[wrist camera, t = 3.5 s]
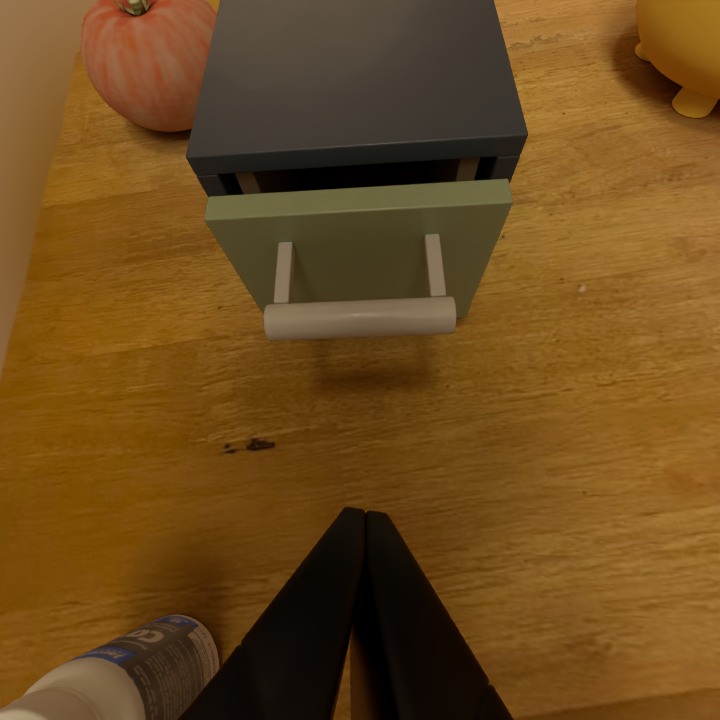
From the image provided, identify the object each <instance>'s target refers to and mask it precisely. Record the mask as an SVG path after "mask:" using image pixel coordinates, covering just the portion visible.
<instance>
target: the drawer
mask: <svg viewBox="0 0 720 720" xmlns="http://www.w3.org/2000/svg"><path fill="white" fill-rule="evenodd" d="M479 160H480V157H479V158H463V159H448V160H432V161H416V162H400V163H384V164H369V165H353V166H337V167H321V168H306V169H290V170H274V171H258V172H243V173H235V176H236V178H237V180H238V182H239V185H240V187H241V189H242V191H243V194H244V195H227V196H210V197H208V201H207V207H206V212H205V218H204V220H205V222H206V223H207V225H208V227H209V228H210V230H211V231H212V233H213V235H214V236H215V238H216V239H217V241H218V243H219V244H220V246H221V247H222V249H223V251H224V252H225V254H226V255H227V257H228V259H229V260H230V262H231V263H232V265H233V267H234V268H235V270H236V272H237V273H238V275H239V276H240V278H241V280H242V281H243V283H244V284H245V286H246V288H247V289H248V291H249V292H250V294H251V296H252V297H253V299H254V300H255V302H256V304H257V305H258V307H259V308H260V310H261V312H262V313H263V315H264V317H263V322H264V330H265V334H266V337H267V339H268V340H269V341H286V340H311V339H337V338H363V337H388V336H414V335H439V334H453V333H454V331H455V327H456V318H464V317H466V314H467V312H468V309H469V307H470V305H471V302H472V300H473V297H474V295H475V293H476V290H477V288H478V285H479V283H480V281H481V278H482V276H483V273H484V271H485V268H486V266H487V264H488V261H489V259H490V256H491V254H492V252H493V249H494V247H495V244H496V242H497V240H498V237H499V235H500V232H501V230H502V228H503V225H504V223H505V220H506V218H507V216H508V213H509V211H510V208H511V206H512V204H513V199H512V194H511V190H510V185H509V181H508V179H493V180H476V181H474V178H475V175H476V171H477V167H478V164H479Z"/></svg>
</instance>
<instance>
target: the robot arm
mask: <svg viewBox="0 0 720 720" xmlns="http://www.w3.org/2000/svg"><path fill="white" fill-rule="evenodd" d="M350 635H351V640H350ZM349 640H350V686H351V720H514V719H513V717H512V716H511V714H510V713H509V711H508V709H507V708H506V706H505V705H504V703H503V701H502V700H501V698H500V696H499V695H498V693H497V692H496V690H495V688H494V687H493V686H492V685H488V684H489V679H488V677H487V676H486V674H485V672H484V671H483V669H482V667H481V666H480V664H479V662H478V661H477V659H476V658H475V656H474V654H473V653H472V651H471V649H470V648H469V646H468V645H467V643H466V641H465V640H464V638H463V636H462V635H461V633H460V631H459V630H458V628H457V627H456V625H455V623H454V622H453V620H452V618H451V617H450V615H449V613H448V612H447V610H446V609H445V607H444V605H443V604H442V602H441V600H440V599H439V597H438V596H437V594H436V592H435V591H434V589H433V587H432V586H431V584H430V582H429V581H428V579H427V578H426V576H425V574H424V573H423V571H422V569H421V568H420V566H419V565H418V563H417V561H416V560H415V558H414V556H413V555H412V553H411V551H410V550H409V548H408V547H407V545H406V543H405V542H404V540H403V538H402V537H401V535H400V533H399V532H398V530H397V529H396V527H395V525H394V524H393V522H392V520H391V519H390V517H389V516H388V514H386V513H384V512H378V511H371V510H368V511H367V512H366V513H365V511H364V510H363V509H358V508H352V507H345V508H344V509H343V510H342V511H341V512H340V514H339V515H338V516H337V518H336V519H335V520H334V522H333V523H332V524H331V525H330V527H329V528H328V529H327V531H326V532H325V533H324V534H323V536H322V537H321V538H320V540H319V541H318V542H317V544H316V545H315V546H314V547H313V549H312V550H311V551H310V553H309V554H308V555H307V557H306V558H305V559H304V560H303V562H302V563H301V564H300V566H299V567H298V568H297V569H296V571H295V572H294V573H293V575H292V576H291V577H290V579H289V580H288V581H287V582H286V584H285V585H284V586H283V588H282V589H281V590H280V592H279V593H278V594H277V595H276V597H275V598H274V599H273V601H272V602H271V603H270V604H269V606H268V607H267V608H266V610H265V611H264V612H263V614H262V615H261V616H260V617H259V619H258V620H257V621H256V623H255V624H254V625H253V627H252V628H251V629H250V630H249V632H248V633H247V634H246V636H245V637H244V638H243V639H242V641H241V645H238V646H237V647H236V648H235V649H234V651H233V652H232V653H231V655H230V656H229V657H228V659H227V660H226V661H225V662H224V664H223V665H222V666H221V668H220V669H219V670H218V671H217V673H216V674H215V675H214V676H213V678H212V679H211V680H210V681H209V682H208V684H207V685H206V686H205V687H204V689H203V690H202V691H201V692H200V693H199V695H198V696H197V697H196V698H195V700H194V701H193V702H192V703H191V704H190V706H189V707H188V708H187V709H186V710H185V711H184V713H183V714H182V715H181V716H180V717H179V718H178V719H177V720H333V719H334V714H335V709H336V704H337V699H338V694H339V690H340V685H341V680H342V675H343V670H344V665H345V661H346V656H347V651H348V645H349Z"/></svg>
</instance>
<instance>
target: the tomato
mask: <svg viewBox="0 0 720 720" xmlns="http://www.w3.org/2000/svg"><path fill="white" fill-rule="evenodd" d="M216 18H217V12H216V11H215V9H214V8H213V7H212V6H211V5H210V4H209V3H208V2H207V1H206V0H98V1H96V2H95V3H94V5H93V6H92V7H91V9H90V10H89V11H88V13H87V14H86V15H85V17H84V20H83V24H82V32H81V53H82V59H83V63H84V66H85V69H86V71H87V74H88V76H89V78H90V80H91V82H92V84H93V86H94V87H95V89H96V90H97V92H98V93H99V95H100V96H101V98H102V99H103V100H104V101H105V102H106V103H107V104H108V105H109V106H110V107H111V108H112V109H113V110H115V111H116V112H117V113H118V114H120V115H121V116H123V117H124V118H126V119H128V120H129V121H131V122H133V123H135V124H137V125H140V126H142V127H144V128H148V129H151V130H156V131H165V132H174V131H183V130H188V129H192V126H193V122H194V117H195V113H196V108H197V104H198V99H199V95H200V90H201V86H202V81H203V77H204V72H205V68H206V63H207V58H208V54H209V49H210V45H211V40H212V36H213V31H214V27H215V22H216Z"/></svg>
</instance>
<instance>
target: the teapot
mask: <svg viewBox="0 0 720 720" xmlns="http://www.w3.org/2000/svg"><path fill="white" fill-rule="evenodd" d="M636 17H637V25H638V32H639V37H640V40H641V43H640V44H638V45H637V46H636V47H635V53H636V55H637V56H638V57H639V58H641V59H643V60H645V61H649V62H651V63H652V64H653V66H654V67H655V68H656V69H658V70H659V71H660V72H661V73H662V74H663V75H665V76H666V77H668V78H669V79H670V80H672V81H674V82H676V83H677V84H679V85H681V86H683V88H682V89H681V90H680V91H679V92H678V94H677V95H676V96H675V97H674V98H673V100H672V106H673V108H674V109H675V110H676V111H677V112H678V113H680V114H681V115H684V116H687V117H692V118H701V117H704V116H707V115H708V114H709V113H710V112H711V111H712V109H713V107H714V106H715V104H716V102H717V101H718V99H720V0H637V6H636Z"/></svg>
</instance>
